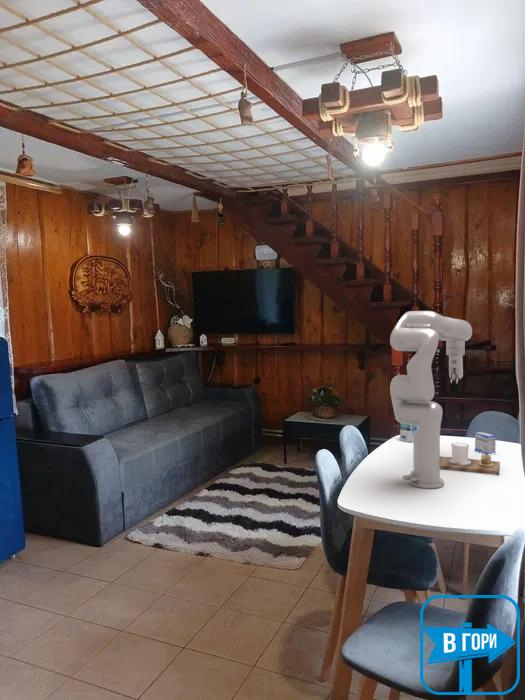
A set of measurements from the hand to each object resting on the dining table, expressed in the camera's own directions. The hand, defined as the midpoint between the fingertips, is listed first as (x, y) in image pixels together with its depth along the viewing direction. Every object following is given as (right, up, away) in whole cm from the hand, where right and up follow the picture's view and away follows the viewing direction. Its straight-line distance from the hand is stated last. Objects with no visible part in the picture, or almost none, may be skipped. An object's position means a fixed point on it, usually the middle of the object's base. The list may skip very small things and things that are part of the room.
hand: (455, 391), depth 226 cm
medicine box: (+18, -29, +13) cm, 37 cm away
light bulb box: (-8, -28, +39) cm, 48 cm away
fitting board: (+2, -31, -8) cm, 32 cm away
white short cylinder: (-1, -29, -7) cm, 30 cm away
